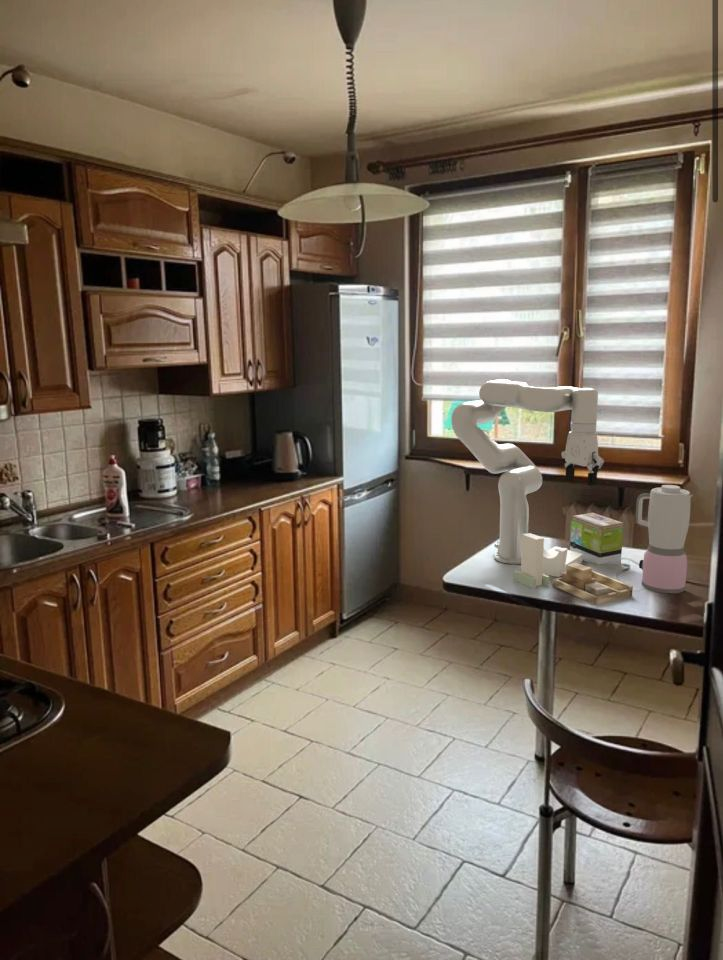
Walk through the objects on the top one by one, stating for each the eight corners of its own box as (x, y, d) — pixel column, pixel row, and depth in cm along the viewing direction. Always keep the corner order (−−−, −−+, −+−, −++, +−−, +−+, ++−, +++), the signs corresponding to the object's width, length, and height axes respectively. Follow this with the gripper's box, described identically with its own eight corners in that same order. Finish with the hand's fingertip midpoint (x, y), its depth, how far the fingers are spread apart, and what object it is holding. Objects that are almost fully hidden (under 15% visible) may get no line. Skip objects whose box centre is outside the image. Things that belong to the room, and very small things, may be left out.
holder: (510, 583, 222) (511, 571, 222) (530, 579, 226) (531, 567, 225) (531, 593, 214) (532, 580, 213) (552, 588, 217) (552, 576, 216)
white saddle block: (558, 582, 224) (563, 551, 222) (529, 573, 230) (534, 543, 228) (580, 567, 238) (585, 538, 235) (553, 559, 244) (557, 530, 241)
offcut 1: (566, 574, 214) (566, 565, 214) (574, 572, 216) (575, 562, 216) (582, 580, 209) (583, 570, 209) (591, 577, 212) (591, 567, 211)
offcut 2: (561, 585, 217) (562, 572, 216) (573, 582, 219) (573, 570, 218) (583, 594, 209) (583, 581, 208) (594, 592, 211) (595, 579, 210)
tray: (552, 588, 217) (552, 575, 216) (586, 581, 223) (587, 568, 222) (595, 608, 201) (596, 594, 200) (631, 600, 207) (632, 586, 207)
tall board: (520, 580, 222) (522, 534, 219) (528, 579, 223) (529, 532, 220) (534, 586, 216) (536, 539, 213) (541, 585, 217) (543, 538, 214)
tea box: (568, 555, 249) (570, 515, 246) (590, 552, 253) (592, 511, 250) (599, 568, 236) (601, 525, 233) (622, 564, 240) (624, 521, 237)
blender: (690, 588, 216) (699, 485, 209) (678, 600, 207) (687, 493, 200) (638, 578, 226) (644, 479, 219) (624, 588, 217) (631, 486, 210)
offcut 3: (584, 595, 208) (585, 584, 207) (596, 593, 209) (596, 582, 209) (596, 601, 203) (597, 590, 203) (607, 599, 205) (608, 588, 204)
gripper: (554, 426, 227) (552, 478, 230) (594, 432, 211) (591, 488, 215) (572, 424, 230) (570, 476, 233) (613, 430, 215) (610, 486, 218)
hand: (580, 482), depth 224 cm, fingers open, 9 cm apart
